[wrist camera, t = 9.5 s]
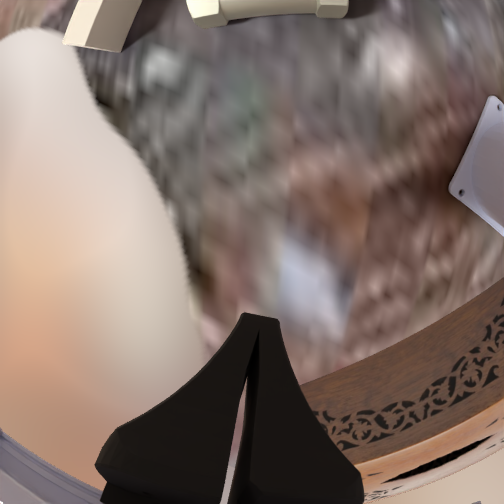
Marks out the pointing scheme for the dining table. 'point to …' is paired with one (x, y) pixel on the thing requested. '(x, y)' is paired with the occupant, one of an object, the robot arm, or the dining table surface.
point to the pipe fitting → (260, 9)
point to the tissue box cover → (421, 401)
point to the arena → (101, 24)
